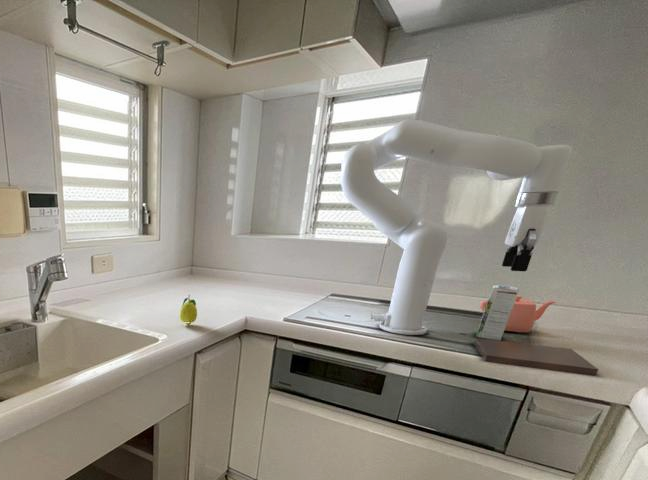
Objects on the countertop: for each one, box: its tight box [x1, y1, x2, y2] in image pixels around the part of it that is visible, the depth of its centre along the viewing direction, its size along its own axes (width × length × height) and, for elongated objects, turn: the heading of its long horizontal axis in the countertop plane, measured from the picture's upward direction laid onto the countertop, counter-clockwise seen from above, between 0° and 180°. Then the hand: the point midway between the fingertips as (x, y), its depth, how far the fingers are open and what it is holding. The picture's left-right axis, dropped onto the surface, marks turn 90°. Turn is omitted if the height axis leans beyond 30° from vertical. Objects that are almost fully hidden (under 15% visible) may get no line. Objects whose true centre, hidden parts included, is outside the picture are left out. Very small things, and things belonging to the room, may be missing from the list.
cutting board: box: [473, 337, 599, 376], centre depth 101 cm, size 20×16×2 cm
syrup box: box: [475, 284, 520, 341], centre depth 114 cm, size 6×6×14 cm
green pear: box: [179, 294, 198, 326], centre depth 129 cm, size 7×6×10 cm
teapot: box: [479, 294, 558, 334], centre depth 123 cm, size 12×18×10 cm, turn 66°
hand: (513, 268), depth 110 cm, fingers open, 9 cm apart
